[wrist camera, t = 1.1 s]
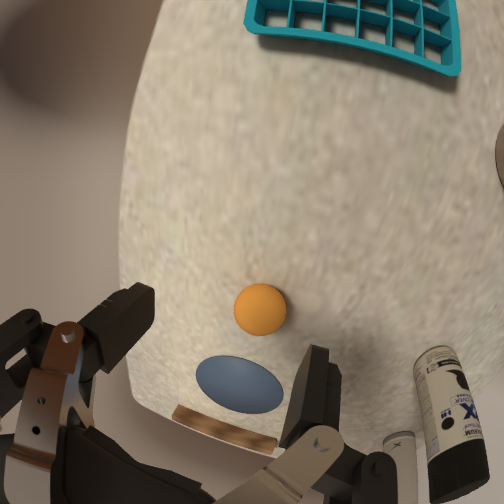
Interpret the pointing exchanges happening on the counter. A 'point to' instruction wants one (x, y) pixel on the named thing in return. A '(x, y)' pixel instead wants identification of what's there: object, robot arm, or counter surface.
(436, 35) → the ice cube tray
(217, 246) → the counter surface
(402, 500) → the travel mug
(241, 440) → the wall
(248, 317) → the ball
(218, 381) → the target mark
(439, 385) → the spray can
